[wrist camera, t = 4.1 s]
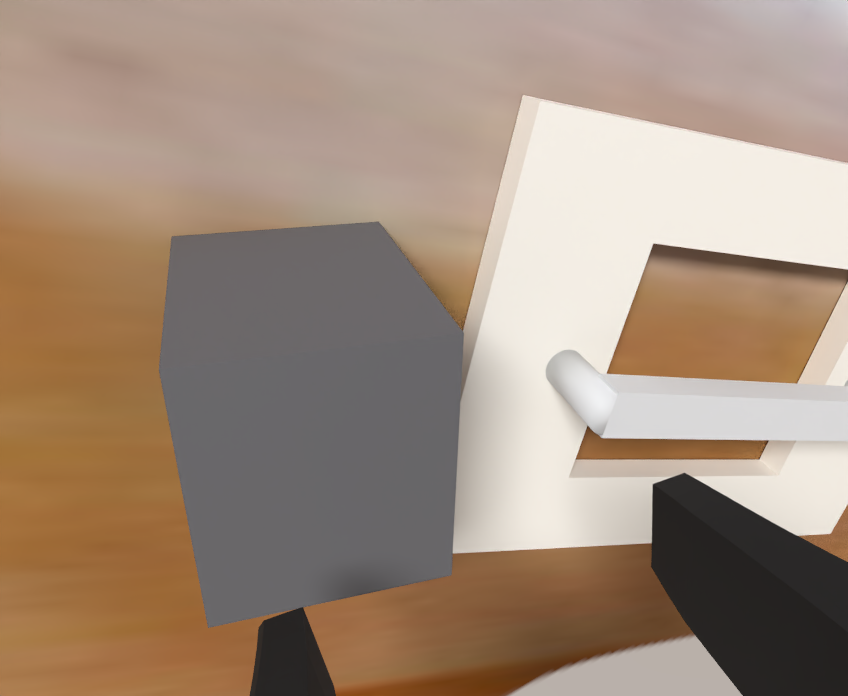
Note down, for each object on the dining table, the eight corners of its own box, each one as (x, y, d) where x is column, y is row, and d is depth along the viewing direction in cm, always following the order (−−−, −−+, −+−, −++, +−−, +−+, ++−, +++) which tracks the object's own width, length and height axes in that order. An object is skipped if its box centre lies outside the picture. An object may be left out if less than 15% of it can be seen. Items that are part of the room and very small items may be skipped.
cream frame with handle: (993, 193, 23) (1114, 225, 20) (811, 517, 29) (884, 580, 26) (522, 95, 17) (595, 120, 14) (411, 533, 22) (445, 619, 19)
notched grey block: (172, 236, 16) (158, 369, 10) (378, 222, 17) (464, 333, 12) (204, 438, 19) (208, 627, 13) (381, 412, 20) (451, 575, 14)
